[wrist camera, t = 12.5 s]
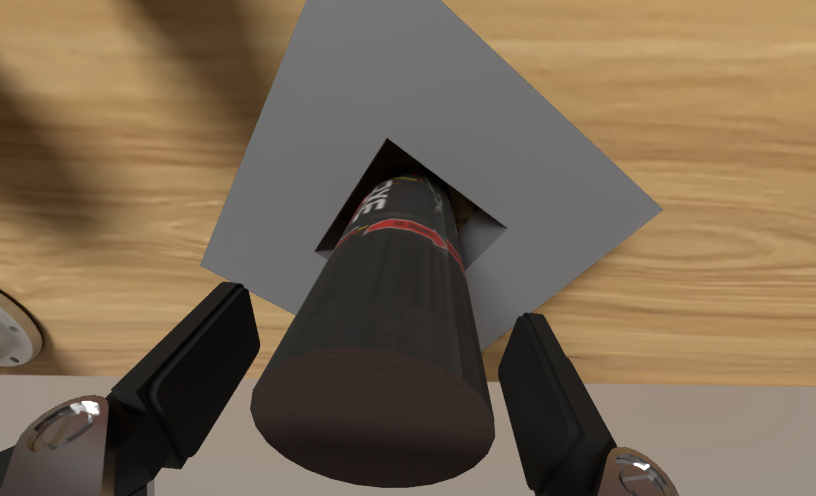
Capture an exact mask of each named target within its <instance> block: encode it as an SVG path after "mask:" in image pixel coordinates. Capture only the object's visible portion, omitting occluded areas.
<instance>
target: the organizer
mask: <svg viewBox="0 0 816 496" xmlns="http://www.w3.org/2000/svg"><path fill="white" fill-rule="evenodd" d="M388 139H389V140H391V141H392V142H393V143H395V144H396V145H397V146H399V147H400V148H401V149H403V150H404V151H405V152H407V153H408V154H409V155H411V156H412V157H413V158H415V159H416V160H417V161H419V162H420V163H421V164H423V165H424V166H425V167H427V168H428V169H429V170H431V171H432V172H433V173H435V174H436V175H437V176H439V177H440V178H441V179H443V180H444V181H445V182H447V183H448V184H449V185H451V186H452V187H453V188H455V189H456V190H457V191H459V192H460V193H461V194H463V195H464V196H465V197H467V198H468V199H469V200H471V201H472V202H473V203H475V204H476V205H477V206H479V207H480V208H479V209H478V210H477V211H476V212H475V213H474V214H473V216H472V217H471V218H470V219H469V220H468V221H467V222H466V223H465V224H464V225H463V226H462V228H461V229H460V230H459V231H458V232H457V234H458V239H459V244H460V249H461V254H462V259H463V264H464V269H465V274H466V279H467V284H468V289H469V294H470V299H471V304H472V309H473V314H474V320H475V325H476V330H477V335H478V340H479V345H480V350H481V351H483V350H484V349H485V348H487V347H488V346H489V345H490V344H492V343H493V342H494V341H496V340H497V339H498V338H499V337H501V336H502V335H503V334H505V333H506V332H507V331H508V330H510V329H511V328H512V327H514V325H515V323H516V320H517V318H518V317H519V316H522V315H523V314H524V313H531V312H533V311H534V310H535V309H537V308H538V307H539V306H540V305H542V304H543V303H544V302H546V301H547V300H548V299H549V298H551V297H552V296H553V295H555V294H556V293H557V292H558V291H560V290H561V289H562V288H564V287H565V286H566V285H567V284H569V283H570V282H571V281H573V280H574V279H575V278H576V277H578V276H579V275H580V274H582V273H583V272H584V271H585V270H587V269H588V268H589V267H591V266H592V265H593V264H594V263H596V262H597V261H598V260H600V259H601V258H602V257H603V256H605V255H606V254H607V253H609V252H610V251H611V250H612V249H614V248H615V247H616V246H618V245H619V244H620V243H621V242H623V241H624V240H625V239H627V238H628V237H629V236H630V235H632V234H633V233H634V232H635V231H637V230H638V229H639V228H641V227H642V226H643V225H644V224H646V223H647V222H648V221H650V220H651V219H652V218H653V217H655V216H656V215H657V214H659V213H660V212H661V211H662V210H663V209H662V208H661V207H660V206H659V205H658V204H657V203H656V202H655V201H654V200H653V199H652V198H650V197H649V196H648V195H647V194H646V193H645V192H644V191H643V190H642V189H641V188H640V187H639V186H638V185H637V184H636V183H634V182H633V181H632V180H631V179H630V178H629V177H628V176H627V175H626V174H625V173H624V172H623V171H622V170H621V169H620V168H619V167H617V166H616V165H615V164H614V163H613V162H612V161H611V160H610V159H609V158H608V157H607V156H606V155H605V154H604V153H603V152H602V151H600V150H599V149H598V148H597V147H596V146H595V145H594V144H593V143H592V142H591V141H590V140H589V139H588V138H587V137H586V136H584V135H583V134H582V133H581V132H580V131H579V130H578V129H577V128H576V127H575V126H574V125H573V124H572V123H571V122H570V121H569V120H567V119H566V118H565V117H564V116H563V115H562V114H561V113H560V112H559V111H558V110H557V109H556V108H555V107H554V106H553V105H551V104H550V103H549V102H548V101H547V100H546V99H545V98H544V97H543V96H542V95H541V94H540V93H539V92H538V91H537V90H536V89H534V88H533V87H532V86H531V85H530V84H529V83H528V82H527V81H526V80H525V79H524V78H523V77H522V76H521V75H520V74H519V73H517V72H516V71H515V70H514V69H513V68H512V67H511V66H510V65H509V64H508V63H507V62H506V61H505V60H504V59H503V58H501V57H500V56H499V55H498V54H497V53H496V52H495V51H494V50H493V49H492V48H491V47H490V46H489V45H488V44H487V43H486V42H484V41H483V40H482V39H481V38H480V37H479V36H478V35H477V34H476V33H475V32H474V31H473V30H472V29H471V28H470V27H469V26H467V25H466V24H465V23H464V22H463V21H462V20H461V19H460V18H459V17H458V16H457V15H456V14H455V13H454V12H453V11H451V10H450V9H449V8H448V7H447V6H446V5H445V4H444V3H443V2H442V1H441V0H306V2H305V4H304V7H303V9H302V12H301V14H300V17H299V19H298V22H297V24H296V27H295V29H294V32H293V34H292V37H291V39H290V42H289V44H288V47H287V49H286V52H285V54H284V57H283V59H282V62H281V64H280V67H279V69H278V72H277V74H276V77H275V79H274V82H273V84H272V87H271V89H270V92H269V94H268V97H267V99H266V102H265V104H264V107H263V109H262V112H261V114H260V117H259V119H258V122H257V124H256V127H255V129H254V132H253V134H252V137H251V139H250V142H249V144H248V147H247V149H246V152H245V154H244V157H243V159H242V162H241V164H240V167H239V169H238V172H237V174H236V177H235V179H234V182H233V184H232V187H231V189H230V192H229V194H228V196H227V199H226V201H225V204H224V206H223V209H222V211H221V214H220V216H219V219H218V221H217V224H216V226H215V229H214V231H213V234H212V236H211V239H210V241H209V244H208V246H207V249H206V251H205V254H204V256H203V259H202V261H201V264H200V266H202V267H204V268H206V269H208V270H210V271H212V272H213V273H215V274H217V275H219V276H221V277H223V278H225V279H227V280H229V281H231V282H233V283H241V284H243V285H244V288H247V289H248V291H250V292H252V293H254V294H256V295H258V296H259V297H261V298H263V299H265V300H267V301H269V302H271V303H273V304H275V305H277V306H279V307H281V308H283V309H284V310H286V311H288V312H290V313H292V314H294V315H297V313H298V311H299V309H300V308H301V306H302V304H303V302H304V301H305V299H306V297H307V295H308V294H309V292H310V290H311V288H312V287H313V285H314V283H315V282H316V280H317V278H318V276H319V275H320V273H321V271H322V269H323V268H324V266H325V264H326V262H327V261H328V259H329V257H330V255H331V254H332V252H333V250H334V249H335V247H336V245H337V243H338V242H339V240H340V238H341V236H342V235H343V233H344V231H345V229H346V228H347V226H348V223H347V222H345V221H343V220H342V219H340V218H339V217H338V216H339V215H340V213H341V211H342V210H343V208H344V207H345V205H346V204H347V202H348V201H349V199H350V197H351V196H352V194H353V193H354V191H355V190H356V188H357V187H358V185H359V183H360V182H361V180H362V179H363V177H364V176H365V174H366V173H367V171H368V169H369V168H370V166H371V165H372V163H373V162H374V160H375V158H376V157H377V155H378V154H379V152H380V151H381V149H382V148H383V146H384V144H385V143H386V141H387V140H388Z"/></svg>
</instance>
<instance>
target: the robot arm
mask: <svg viewBox="0 0 816 496" xmlns="http://www.w3.org/2000/svg"><path fill="white" fill-rule="evenodd" d="M41 349H42V338H41V335H40V332H39V331H38V329H37V327H36V325H35V324H34V323H33V321H32V320H31V319H30V318H29V316H28V315H27V314H26V313H25V312H24V311H23V310H21V309H20V308H19V307H18V306H17V305H16V304H15V303H13V302H12V301H11V300H10V299H8V298H7V297H6V296H4V295H3V294H1V293H0V366H17V365H22V364H24V363H26V362H28V361H29V360H31V359H32V358H33V357H35V356H36V355H37V354H39V352H40V351H41ZM259 349H260V340H259V336H258V331H257V327H256V322H255V317H254V313H253V308H252V304H251V299H250V295H249V291H248V289H247V288H244V285H243V284H241V283H232V282H222V283H220V284H219V285H218V286H217V287H216V288H215V289H214V290H213V291H212V292H211V293H210V294H209V295H208V296H207V297H206V298H205V299H204V300H203V301H202V302H201V303H200V304H199V305H198V306H196V307H195V308H194V309H193V310H192V311H191V312H190V313H189V314H188V315H187V316H186V317H185V318H184V319H183V320H182V321H181V322H180V323H179V324H178V325H177V326H176V327H175V328H174V329H173V330H172V331H171V332H170V333H169V334H168V335H167V336H166V337H165V338H163V339H162V340H161V341H160V342H159V343H158V344H157V345H156V346H155V347H154V348H153V349H152V350H151V351H150V352H149V353H148V354H147V355H146V356H145V357H144V358H143V359H142V360H141V361H140V362H139V363H138V364H137V365H136V366H135V367H134V368H133V369H132V370H131V371H129V372H128V373H127V374H126V375H125V376H124V377H123V378H122V379H121V380H120V381H119V382H118V383H117V384H116V385H115V386H114V387H113V388H112V389H111V391H112V392H111V393H110V394H109V395H108V396H107V397H106V398H104V397H101V396H96V395H90V396H82V397H79V398H75V399H72V400H69V401H67V402H64V403H62V404H60V405H58V406H56V407H54V408H52V409H51V410H49V411H48V412H46V413H44V414H43V415H41V416H40V417H39V418H38V419H36V420H35V421H34V422H32V423H31V424H30V425H29V426H28V427H27V429H26V430H25V431H24V432H23V433H22V434H21V436H20V437H19V439H18V441H17V443H16V445H15V446H13V447H10V448H8V449H6V450H3V451H1V452H0V496H154V478H155V477H156V475H157V473H158V472H159V471H160V469H161V468H162V467H164V468H173V469H182V467H183V465H184V464H185V462H186V460H187V459H188V457H192V456H194V455H195V454H196V453H197V451H198V450H199V448H200V446H201V445H202V443H203V441H204V440H205V438H206V437H207V435H208V433H209V432H210V430H211V429H212V427H213V425H214V423H215V422H216V420H217V419H218V417H219V416H220V414H221V412H222V411H223V409H224V407H225V406H226V404H227V403H228V401H229V399H230V398H231V396H232V395H233V393H234V391H235V390H236V388H237V387H238V385H239V383H240V381H241V380H242V378H243V377H244V375H245V374H246V372H247V370H248V369H249V367H250V365H251V364H252V362H253V361H254V359H255V357H256V356H257V354H258V352H259ZM498 376H499V381H500V384H501V388H502V392H503V395H504V399H505V403H506V406H507V410H508V414H509V418H510V422H511V426H512V429H513V433H514V437H515V441H516V444H517V448H518V452H519V456H520V459H521V463H522V467H523V471H524V474H525V478H526V481H527V485H528V487H529V488H530V489H531V490H534V493H535V496H679V494H678V492H677V490H676V488H675V486H674V484H673V483H672V482H671V480H670V479H669V477H668V476H667V474H666V473H665V472H664V471H663V470H662V469H661V468H660V467H659V466H658V465H657V464H656V463H654V462H653V461H652V460H651V459H649V458H648V457H647V456H645V455H643V454H642V453H640V452H638V451H636V450H633V449H630V448H627V447H617V445H616V443H615V441H614V439H613V438H612V436H611V434H610V432H609V430H608V428H607V427H606V425H605V423H604V421H603V419H602V417H601V416H600V414H599V412H598V410H597V408H596V407H595V405H594V403H593V401H592V399H591V397H590V395H589V394H588V392H587V390H586V388H585V386H584V384H583V383H582V381H581V379H580V377H579V375H578V373H577V372H576V370H575V368H574V366H573V364H572V363H571V361H570V360H569V358H567V357H566V356H565V354H564V352H563V350H562V348H561V346H560V344H559V343H558V341H557V339H556V337H555V335H554V333H553V331H552V330H551V328H550V326H549V324H548V322H547V320H546V318H545V317H544V315H542V314H535V313H524V314H523V315H522V316H519V317H518V318H517V320H516V323H515V325H514V328H513V331H512V333H511V336H510V339H509V341H508V344H507V347H506V349H505V352H504V355H503V357H502V360H501V363H500V365H499V369H498Z"/></svg>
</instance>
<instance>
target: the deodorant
mask: <svg viewBox="0 0 816 496" xmlns="http://www.w3.org/2000/svg"><path fill="white" fill-rule="evenodd" d="M250 410H251V413H252V416H253V419H254V423H255V426H256V427H257V429H258V430H259V432H260V433H261V434H262V436H263V437H264V438H265V440H266V441H267V442H268V444H270V445H271V446H272V447H273V448H274V449H276V450H277V451H278V452H279V453H281V454H282V455H283V456H284V457H285V458H287V459H289V460H291V461H292V462H294V463H296V464H298V465H300V466H301V467H303V468H305V469H307V470H309V471H312V472H315V473H317V474H320V475H323V476H326V477H328V478H330V479H335V480H339V481H343V482H347V483H351V484H355V485H363V486H372V487H381V488H408V487H415V486H423V485H431V484H435V483H438V482H442V481H445V480H448V479H452V478H455V477H457V476H459V475H460V474H462V473H464V472H466V471H468V470H470V469H471V468H473V467H475V466H476V465H477V464H478V463H479V462H480V461H481V460H482V459H483V458H484V457H485V456H486V455H487V454H488V452H489V450H490V447H491V445H492V443H493V441H494V438H495V428H494V416H493V411H492V406H491V400H490V396H489V390H488V386H487V380H486V375H485V370H484V365H483V360H482V355H481V350H480V345H479V340H478V335H477V330H476V325H475V320H474V314H473V309H472V304H471V299H470V294H469V289H468V284H467V279H466V274H465V269H464V264H463V259H462V254H461V249H460V244H459V239H458V234H457V228H456V223H455V218H454V213H453V208H452V203H451V198H450V195H449V192H448V190H447V187H446V185H445V184H444V183H443V181H442V180H441V179H440V177H439V176H437V175H436V174H435V173H433V172H432V171H431V170H429V169H426V168H424V167H421V166H419V165H411V164H404V165H397V166H394V167H391V168H389V169H387V170H385V171H383V172H382V173H381V174H380V175H379V176H378V177H376V179H375V180H374V182H373V183H372V185H371V186H370V188H369V189H368V191H367V193H366V195H365V196H364V198H363V200H362V202H361V203H360V205H359V207H358V209H357V210H356V212H355V214H354V216H353V217H352V219H351V221H350V222H349V224H348V226H347V228H346V229H345V231H344V233H343V235H342V236H341V238H340V240H339V242H338V243H337V245H336V247H335V249H334V250H333V252H332V254H331V255H330V257H329V259H328V261H327V262H326V264H325V266H324V268H323V269H322V271H321V273H320V275H319V276H318V278H317V280H316V282H315V283H314V285H313V287H312V288H311V290H310V292H309V294H308V295H307V297H306V299H305V301H304V302H303V304H302V306H301V308H300V309H299V311H298V313H297V315H296V316H295V318H294V320H293V322H292V323H291V325H290V327H289V328H288V330H287V332H286V334H285V335H284V337H283V339H282V341H281V342H280V344H279V346H278V348H277V349H276V351H275V353H274V355H273V356H272V358H271V360H270V361H269V363H268V365H267V367H266V368H265V370H264V372H263V374H262V375H261V377H260V379H259V381H258V382H257V384H256V386H255V388H254V389H253V393H252V400H251V407H250Z"/></svg>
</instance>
